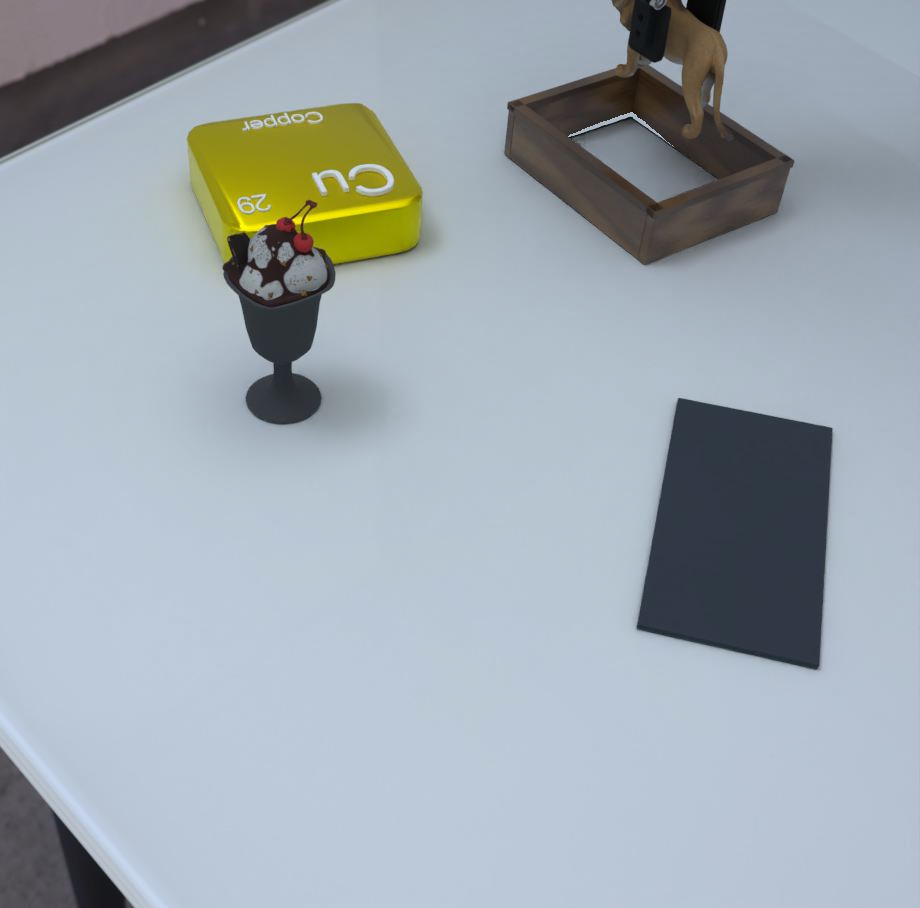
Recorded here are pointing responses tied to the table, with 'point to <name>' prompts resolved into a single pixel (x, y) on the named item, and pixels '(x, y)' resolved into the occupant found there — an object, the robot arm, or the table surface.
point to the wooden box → (613, 197)
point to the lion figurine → (686, 62)
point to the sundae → (280, 311)
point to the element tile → (308, 180)
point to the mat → (741, 534)
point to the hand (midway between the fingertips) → (673, 42)
